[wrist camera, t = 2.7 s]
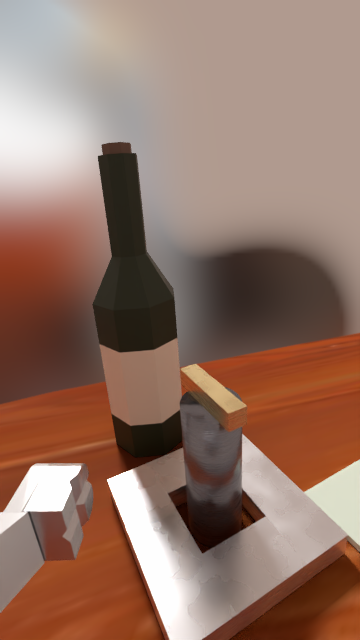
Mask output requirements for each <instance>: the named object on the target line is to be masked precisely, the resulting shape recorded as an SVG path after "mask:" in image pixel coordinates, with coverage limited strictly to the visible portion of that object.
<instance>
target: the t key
mask: <svg viewBox="0 0 360 640" xmlns="http://www.w3.org/2000/svg"><path fill="white" fill-rule="evenodd" d="M180 376H181V385H182V386H183V387H184V388H185V389H186V390H187V391H188V392H186V393H185V394H184V395H183V396H182V398H181V400H180V415H181V428H182V440H183V453H184V466H185V479H186V491H187V504H188V517H189V527H190V530H191V533H192V535H193V536H194V538H195V539H196V540H197V541H198V542H200V543H201V544H203V545H205V546H207V547H211V548H213V547H215V546H217V545H218V544H220V543H222V542H223V541H225V540H227V539H228V538H230V537H232V536H233V535H235V534H237V533H238V532H240V531H241V527H242V426H245V425H247V406H246V405H245V404H244V403H243V402H242V400H241V398H240V396H239V395H238V394H237V393H236V392H234V391H233V390H231V389H229V388H226V387H223V386H222V385H221V384H220V383H219V382H217V381H216V380H215V379H214V378H212V377H211V376H210V375H209V374H208V373H206V372H205V371H204V370H203V369H202V368H200V367H199V366H198V365H197V364H194V365H190V366H187V367H184V368H181V369H180Z"/></svg>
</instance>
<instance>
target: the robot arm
mask: <svg viewBox="0 0 360 640" xmlns="http://www.w3.org/2000/svg"><path fill="white" fill-rule="evenodd" d="M88 474H89V472H88V469H87V465H86V464H72V463H52V464H35V465H33V466H32V467H31V468H30V469H29V471H28V473H27V474H26V476H25V478H24V479H23V481H22V482H21V484H20V486H19V487H18V489H17V491H16V492H15V494H14V496H13V497H12V499H11V500H10V502H9V504H8V505H7V507H6V509H5V510H4V512H0V613H1V611H2V610H3V609H4V608H5V607H6V606H7V605H8V604H9V602H10V601H11V600H12V599H13V598H14V597H15V596H16V594H17V593H18V592H19V591H20V590H21V589H22V588H23V587H24V585H25V584H26V583H27V582H28V581H29V580H30V579H31V578H32V576H33V575H34V574H35V573H36V572H37V571H38V570H39V569H40V567H41V566H42V565H43V564H44V561H54V560H75V559H76V556H77V553H78V550H79V547H80V544H81V541H82V538H83V532H82V526H83V525H84V524H85V523H86V522H87V521H88V520H89V517H90V514H91V511H92V504H93V490H92V485H91V484H90V483H89V482H88V481H87V477H88Z"/></svg>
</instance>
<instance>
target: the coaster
mask: <svg viewBox="0 0 360 640" xmlns="http://www.w3.org/2000/svg"><path fill="white" fill-rule="evenodd" d="M304 493H305V494H306V495H307V496H308V497H309V498H310V499H311V500H312V501H313V502H314V503H315V504H316V505H317V506H318V507H319V508H320V509H322V510H323V511H324V512H325V513H326V514H327V515H328V516H329V517H330V518H331V519H332V520H333V521H334V522H335V523H336V524H337V525H338V526H339V527H340V528H341V529H342V530H344V531H345V532H346V533H347V534H348V539H347V540H348V541H349V542H350V543H351V544H352V545H353V546H354V547H355V548H356V549H357V550H358V551H359V552H360V460H358V461H356V462H355V463H353V464H351V465H350V466H348V467H346V468H344V469H343V470H341V471H339V472H338V473H336V474H334V475H333V476H331V477H329V478H328V479H326V480H324V481H322V482H321V483H319V484H317V485H316V486H314V487H312V488H311V489H309V490H307V491H306V492H304Z"/></svg>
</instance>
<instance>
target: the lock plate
mask: <svg viewBox="0 0 360 640" xmlns="http://www.w3.org/2000/svg"><path fill="white" fill-rule="evenodd" d="M108 484H109V489H110V494H111V498H112V500H113V503H114V506H115V508H116V511H117V514H118V516H119V519H120V522H121V524H122V527H123V529H124V532H125V535H126V537H127V540H128V543H129V545H130V548H131V551H132V553H133V556H134V559H135V561H136V564H137V567H138V569H139V572H140V575H141V577H142V580H143V583H144V585H145V588H146V590H147V593H148V596H149V598H150V601H151V604H152V606H153V609H154V612H155V614H156V617H157V620H158V622H159V625H160V628H161V630H162V633H163V636H164V638H165V640H229V639H230V638H232V637H233V636H234V635H236V634H237V633H238V632H240V631H241V630H242V629H244V628H245V627H247V626H248V625H249V624H251V623H252V622H253V621H255V620H256V619H257V618H259V617H260V616H261V615H263V614H264V613H265V612H267V611H268V610H269V609H271V608H272V607H273V606H275V605H276V604H277V603H279V602H280V601H282V600H283V599H284V598H286V597H287V596H288V595H290V594H291V593H292V592H294V591H295V590H296V589H298V588H299V587H300V586H302V585H303V584H304V583H306V582H307V581H308V580H310V579H311V578H312V577H314V576H315V575H316V574H318V573H319V572H321V571H322V570H323V569H325V568H326V567H327V566H329V565H330V564H331V563H333V562H334V561H335V560H337V559H338V558H339V557H341V556H342V555H343V554H345V550H346V544H347V539H348V534H347V533H346V532H345V531H344V530H342V529H341V528H340V527H339V526H338V525H337V524H336V523H335V522H334V521H333V520H332V519H331V518H330V517H329V516H328V515H327V514H326V513H325V512H324V511H323V510H322V509H320V508H319V507H318V506H317V505H316V504H315V503H314V502H313V501H312V500H311V499H310V498H309V497H308V496H307V495H306V494H305V493H304V492H303V491H302V490H301V489H300V488H299V487H297V486H296V485H295V484H294V483H293V482H292V481H291V480H290V479H289V478H288V477H287V476H286V475H285V474H284V473H283V472H282V471H281V470H280V469H279V468H278V467H277V466H275V465H274V464H273V463H272V462H271V461H270V460H269V459H268V458H267V457H266V456H265V455H264V454H263V453H262V452H261V451H260V450H259V449H258V448H257V447H256V446H255V445H253V444H252V443H251V442H250V441H249V440H248V439H247V438H246V437H245V436H244V435H243V434H242V505H243V507H244V508H245V509H246V510H247V512H248V513H249V514H250V515H251V517H252V518H253V519H254V520H255V523H254V524H252V525H250V526H249V527H247V528H245V529H244V530H242V531H240V532H238V533H237V534H235V535H233V536H232V537H230V538H228V539H227V540H225V541H223V542H222V543H220V544H218V545H217V546H215V547H213V548H211V549H210V550H208V551H206V552H205V553H203V554H202V553H201V551H200V549H199V548H198V546H197V544H196V542H195V541H194V539H193V537H192V535H191V534H190V532H189V530H188V528H187V527H186V525H185V523H184V522H183V520H182V518H181V516H180V515H179V513H178V511H177V509H176V508H175V507H177V506H179V505H181V504H183V503H185V502H187V491H186V479H185V466H184V453H183V448H181V449H179V450H176V451H174V452H172V453H169V454H167V455H165V456H162V457H160V458H158V459H155V460H153V461H151V462H148V463H146V464H144V465H141V466H139V467H137V468H134V469H132V470H130V471H127V472H125V473H123V474H120V475H118V476H116V477H113V478H111V479H109V480H108Z"/></svg>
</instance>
